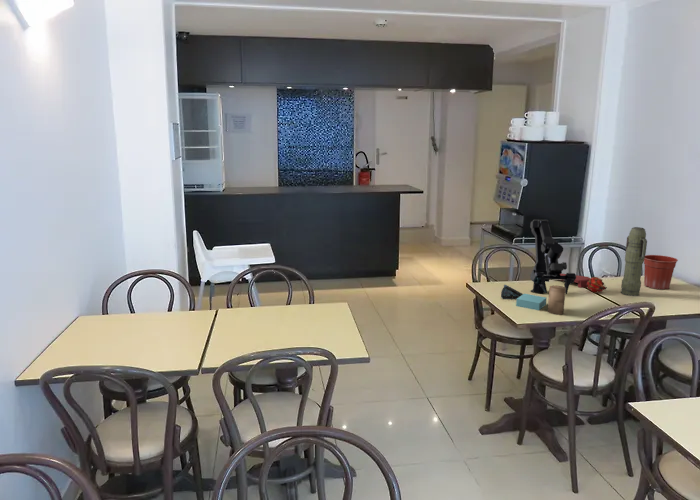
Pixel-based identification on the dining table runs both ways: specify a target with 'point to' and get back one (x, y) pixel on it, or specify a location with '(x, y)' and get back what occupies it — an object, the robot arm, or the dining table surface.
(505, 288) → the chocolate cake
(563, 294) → the brown vase
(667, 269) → the flower pot
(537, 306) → the base block
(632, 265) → the thermos
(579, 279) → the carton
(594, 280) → the dragon fruit
